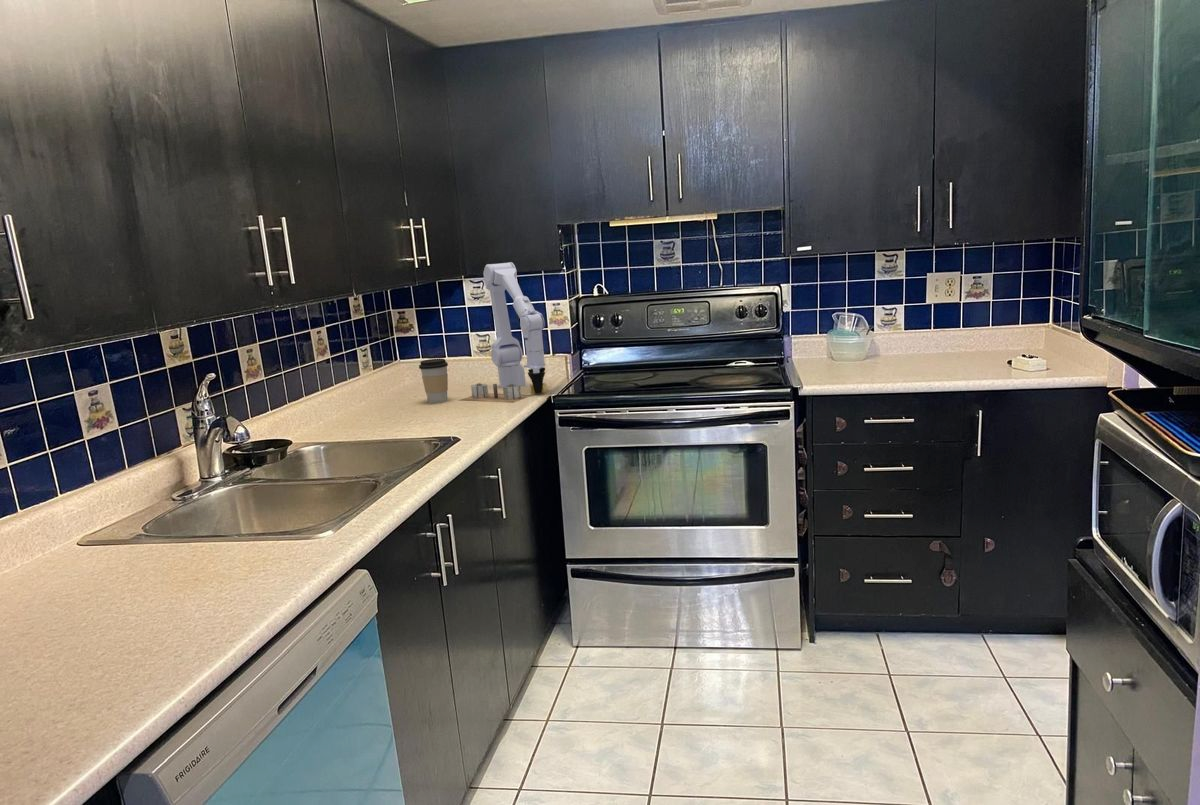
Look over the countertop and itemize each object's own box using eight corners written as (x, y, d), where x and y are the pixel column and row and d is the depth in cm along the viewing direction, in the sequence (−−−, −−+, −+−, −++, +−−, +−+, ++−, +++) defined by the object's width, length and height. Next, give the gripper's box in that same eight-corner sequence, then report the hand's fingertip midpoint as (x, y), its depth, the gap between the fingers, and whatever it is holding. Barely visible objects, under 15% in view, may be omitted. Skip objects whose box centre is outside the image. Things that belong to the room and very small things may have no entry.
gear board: (481, 397, 277) (479, 380, 276) (534, 399, 266) (533, 381, 265) (458, 404, 267) (456, 386, 265) (513, 407, 256) (511, 388, 255)
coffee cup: (455, 401, 272) (450, 357, 269) (448, 407, 263) (442, 361, 260) (428, 403, 273) (423, 359, 270) (419, 409, 264) (414, 363, 261)
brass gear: (536, 394, 273) (535, 382, 273) (549, 394, 271) (548, 383, 270) (528, 397, 269) (526, 385, 268) (541, 398, 266) (540, 386, 266)
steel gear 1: (478, 395, 273) (477, 383, 272) (491, 395, 270) (490, 383, 269) (469, 398, 268) (467, 386, 267) (481, 398, 266) (480, 386, 265)
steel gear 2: (506, 397, 266) (505, 384, 265) (522, 396, 265) (520, 384, 264) (502, 400, 261) (501, 387, 260) (518, 399, 260) (517, 387, 259)
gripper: (522, 348, 274) (526, 388, 276) (522, 354, 260) (526, 396, 262) (543, 347, 274) (547, 386, 277) (544, 352, 260) (547, 394, 263)
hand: (538, 391), depth 270 cm, fingers closed on brass gear, 5 cm apart
